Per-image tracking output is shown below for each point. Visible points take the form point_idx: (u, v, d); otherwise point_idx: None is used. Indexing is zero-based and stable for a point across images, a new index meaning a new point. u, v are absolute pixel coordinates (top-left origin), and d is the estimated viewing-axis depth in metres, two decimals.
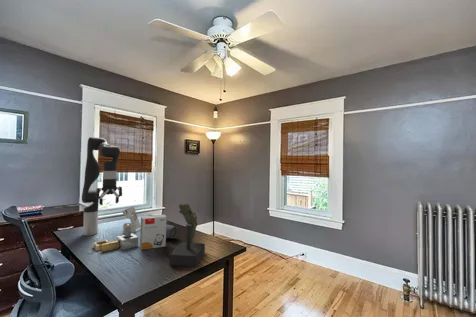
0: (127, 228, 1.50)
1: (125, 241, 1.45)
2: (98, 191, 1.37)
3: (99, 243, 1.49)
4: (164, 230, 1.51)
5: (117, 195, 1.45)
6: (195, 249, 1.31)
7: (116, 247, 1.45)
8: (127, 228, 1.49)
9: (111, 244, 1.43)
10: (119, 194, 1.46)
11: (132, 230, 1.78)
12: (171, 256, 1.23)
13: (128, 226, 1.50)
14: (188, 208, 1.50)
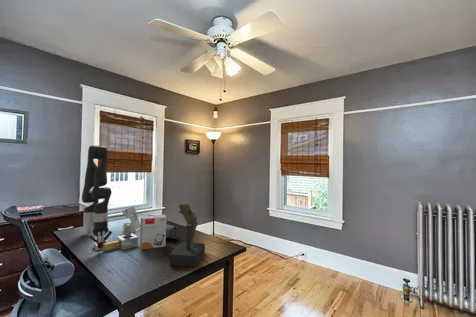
0: (127, 228, 1.50)
1: (125, 241, 1.45)
2: (92, 237, 1.36)
3: None
4: (164, 230, 1.51)
5: (101, 240, 1.39)
6: (195, 249, 1.31)
7: (118, 247, 1.46)
8: (127, 228, 1.49)
9: (113, 244, 1.44)
10: (104, 238, 1.41)
11: (132, 230, 1.78)
12: (171, 256, 1.23)
13: (128, 226, 1.50)
14: (188, 208, 1.50)
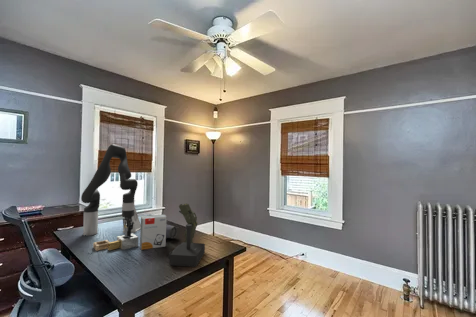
0: None
1: (125, 241, 1.45)
2: (123, 221, 1.54)
3: (99, 243, 1.49)
4: (164, 230, 1.51)
5: (127, 228, 1.49)
6: (195, 249, 1.31)
7: None
8: None
9: (117, 243, 1.46)
10: (129, 227, 1.48)
11: (132, 230, 1.79)
12: (171, 256, 1.23)
13: None
14: (188, 208, 1.50)
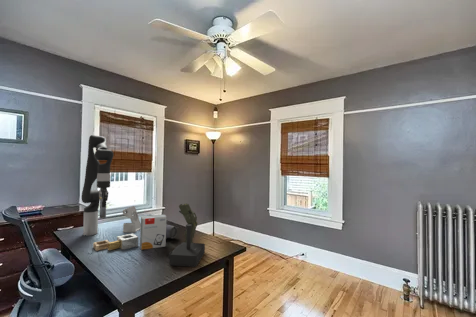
0: None
1: (125, 241, 1.45)
2: None
3: (99, 243, 1.49)
4: (164, 230, 1.51)
5: None
6: (195, 249, 1.31)
7: None
8: None
9: (117, 243, 1.46)
10: None
11: (131, 230, 1.79)
12: (171, 256, 1.23)
13: None
14: (188, 208, 1.50)
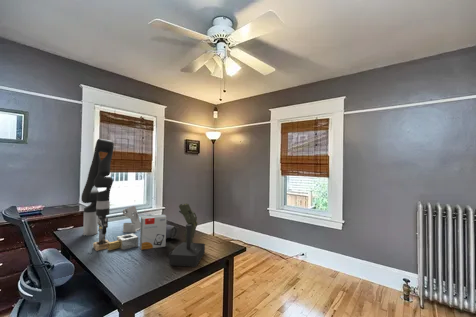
0: (101, 229, 1.46)
1: (125, 241, 1.45)
2: (98, 218, 1.51)
3: None
4: (164, 230, 1.51)
5: (102, 226, 1.44)
6: (195, 249, 1.31)
7: None
8: (101, 229, 1.46)
9: (117, 243, 1.46)
10: (104, 226, 1.44)
11: (131, 230, 1.79)
12: (171, 256, 1.23)
13: None
14: (188, 208, 1.50)
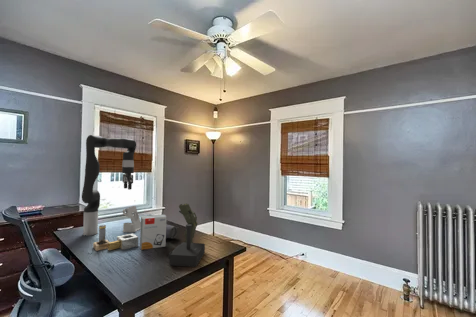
0: (101, 229, 1.46)
1: (125, 241, 1.45)
2: (123, 176, 1.68)
3: None
4: (164, 230, 1.51)
5: (128, 182, 1.60)
6: (195, 249, 1.31)
7: None
8: (101, 229, 1.46)
9: (117, 243, 1.46)
10: (130, 181, 1.60)
11: (131, 230, 1.79)
12: (171, 256, 1.23)
13: (102, 227, 1.46)
14: (188, 208, 1.50)
